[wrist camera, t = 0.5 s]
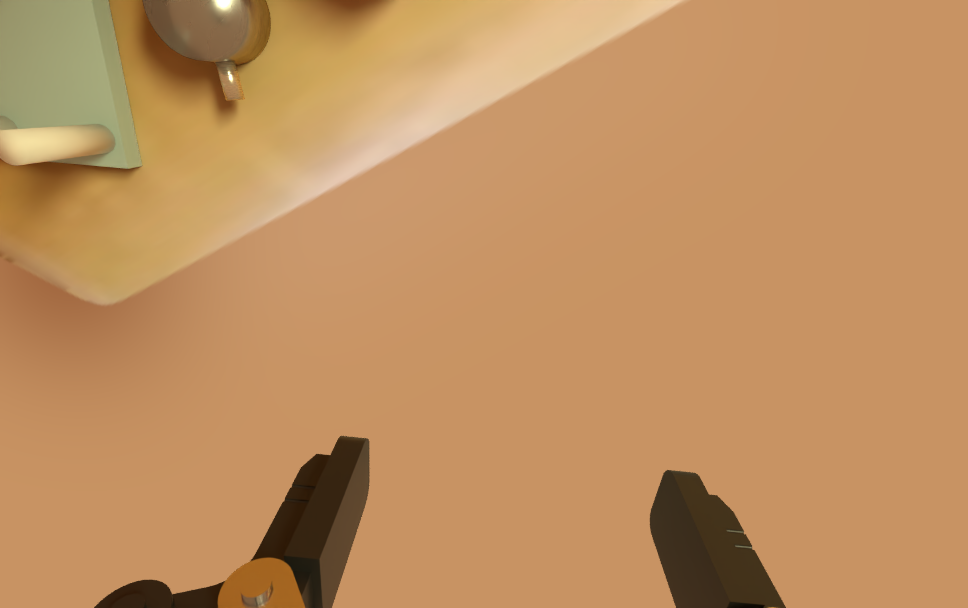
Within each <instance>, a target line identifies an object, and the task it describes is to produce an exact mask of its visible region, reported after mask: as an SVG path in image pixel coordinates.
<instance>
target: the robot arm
mask: <svg viewBox="0 0 968 608" xmlns="http://www.w3.org/2000/svg"><path fill="white" fill-rule="evenodd" d="M368 489H369V440H368V439H366V438H356V437H347V436H340V437H339V438H338V440H337V442H336V444H335V447H334V449H333V451H332V453H331V455H322V454H316V455H315V456H314V457H313V458H311V459H310V460H309V461H308V462H307V463H306V464H305V465H303V466H302V467H301V469H300V471H299V473H298V474H297V476H296V478H295V480H294V482H293V484H292V488H290V489H289V492H288V493H287V495H286V497H285V501H284V502H283V503H282V505H281V507H280V508H279V510H278V512H277V514H276V516H275V518H274V520H273V522H272V524H271V525H270V527H269V529H268V531H267V533H266V535H265V537H264V539H263V541H262V543H261V544H260V546H259V548H258V550H257V552H256V554H255V555H254V557H253V559H252V560H251V561H250V562H248V563H246V564H244V565H243V566H241V567H240V568H238V569H237V570H236V571H234V572H233V573H232V574H231V575H230V576H229V577H228V578H227V580H226V581H224V582H222V583H219V584H217V585H214V586H210V587H206V588H201V589H196V590H191V591H187V592H182V593H177V594H172V593H171V591H170V589H169V587H167V585H166V584H164V583H163V582H160V581H157V580H141V581H136V582H133V583H130V584H128V585H126V586H123V587H121V588H119V589H117V590H115V591H114V592H112V593H111V594H109V595H108V596H106V597H105V598H104V599H103V600H101V601H100V602H99V604H97V605H96V606H95V607H94V608H332V605H333V602H334V599H335V596H336V593H337V590H338V587H339V584H340V581H341V578H342V575H343V572H344V569H345V566H346V563H347V560H348V557H349V553H350V550H351V547H352V544H353V541H354V538H355V535H356V532H357V529H358V526H359V523H360V520H361V517H362V513H363V511H364V508H365V504H366V500H367V496H368ZM650 529H651V534H652V537H653V540H654V543H655V546H656V549H657V552H658V555H659V558H660V561H661V564H662V567H663V570H664V573H665V575H666V579H667V582H668V585H669V588H670V591H671V594H672V597H673V599H674V603H675V605H676V608H786V607H785V605H784V603H783V602H782V600H781V598H780V596H779V594H778V592H777V591H776V589H775V587H774V585H773V583H772V581H771V580H770V578H769V576H768V574H767V572H766V571H765V569H764V567H763V565H762V563H761V561H760V560H759V558H758V556H757V554H756V552H755V551H754V550H752V545H751V543H750V541H749V540H748V538H747V536H746V535H744V531H743V529H742V527H741V525H740V523H739V521H738V519H737V518H736V516H735V514H734V512H733V511H732V510H731V509H730V508H729V507H728V506H727V505H726V504H725V503H724V502H723V501H722V500H721V499H720V498H719V497H718V496H717V495H709V494H708V492H707V490H706V488H705V486H704V485H703V482H702V481H701V479H700V477H699V476H698V474H696V473H691V472H681V471H671V470H667V471H665V473H664V475H663V477H662V480H661V483H660V486H659V488H658V491H657V494H656V497H655V500H654V503H653V506H652V509H651V513H650Z"/></svg>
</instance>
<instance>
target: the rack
mask: <svg viewBox="0 0 968 608" xmlns="http://www.w3.org/2000/svg"><path fill="white" fill-rule="evenodd" d="M0 158H1V159H2V160H3V161H5V162H6V163H8V164H11V165H16V166H17V165H25V164H32V163H39V162H46V161H47V162H58V163H70V164H81V165H92V166H103V167H115V168H126V169H129V168H134V167H140V166H142V163H141V158H140V153H139V148H138V143H137V138H136V133H135V129H134V124H133V119H132V114H131V109H130V104H129V99H128V94H127V89H126V84H125V80H124V75H123V70H122V65H121V60H120V55H119V50H118V45H117V40H116V35H115V31H114V26H113V21H112V16H111V11H110V6H109V1H108V0H0Z"/></svg>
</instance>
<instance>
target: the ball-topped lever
mask: <svg viewBox="0 0 968 608" xmlns="http://www.w3.org/2000/svg"><path fill="white" fill-rule="evenodd" d="M143 4H144V8H145V12H146V14H147V17H148V19H149V21H150V23H151V25H152V27H153V28H154V30H155V31H156V33H157V34H158V35H159V37H160V38H161V39H162V40H163V41H164V42H165V43H166V44H167V45H168V46H169V47H170V48H172V49H173V50H174V51H176V52H177V53H179V54H181V55H183V56H185V57H188V58H191V59H195V60H201V61H209V62H215V64H216V68H217V71H218V75H219V78H220V82H221V85H222V89H223V92H224V96H225V99H226V101H229V100H241V99H245V98H244V94H243V91H242V87H241V83H240V80H239V76H238V72H237V68H236V65H235V64H244V63H247V62H250V61H252V60H254V59H255V58H256V57H258V56H259V55H260V54H261V52H262V51H263V50H264V48H265V47H266V44H267V42H268V39H269V36H270V28H271V21H270V13H269V9H268V5H267V2H266V0H143Z"/></svg>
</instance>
